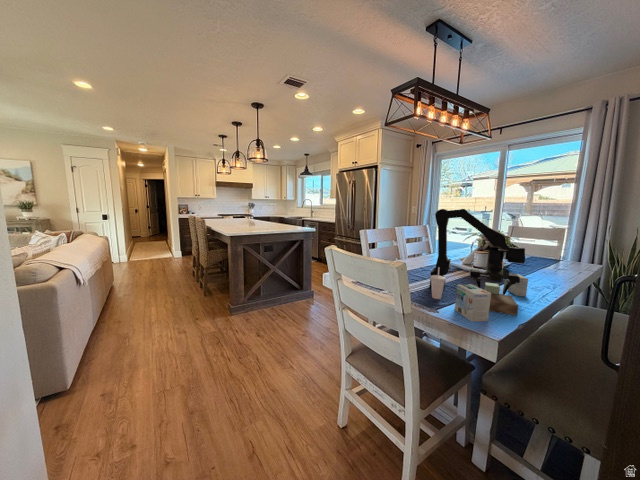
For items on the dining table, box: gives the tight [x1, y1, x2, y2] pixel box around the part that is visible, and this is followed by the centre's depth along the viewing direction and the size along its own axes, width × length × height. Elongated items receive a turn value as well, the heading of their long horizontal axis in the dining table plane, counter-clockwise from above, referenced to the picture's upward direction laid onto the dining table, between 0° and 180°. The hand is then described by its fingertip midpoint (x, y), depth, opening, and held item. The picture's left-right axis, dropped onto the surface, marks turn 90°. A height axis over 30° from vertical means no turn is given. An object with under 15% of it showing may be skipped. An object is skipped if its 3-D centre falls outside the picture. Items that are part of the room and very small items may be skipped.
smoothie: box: [430, 267, 447, 300], centre depth 116 cm, size 6×6×14 cm
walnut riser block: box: [489, 293, 519, 316], centre depth 107 cm, size 12×12×4 cm
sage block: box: [483, 282, 501, 294], centre depth 119 cm, size 5×5×6 cm
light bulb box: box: [454, 283, 491, 322], centre depth 98 cm, size 11×7×11 cm, turn 5°
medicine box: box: [507, 273, 529, 297], centre depth 124 cm, size 8×4×9 cm, turn 168°
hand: (491, 293), depth 119 cm, fingers open, 9 cm apart
